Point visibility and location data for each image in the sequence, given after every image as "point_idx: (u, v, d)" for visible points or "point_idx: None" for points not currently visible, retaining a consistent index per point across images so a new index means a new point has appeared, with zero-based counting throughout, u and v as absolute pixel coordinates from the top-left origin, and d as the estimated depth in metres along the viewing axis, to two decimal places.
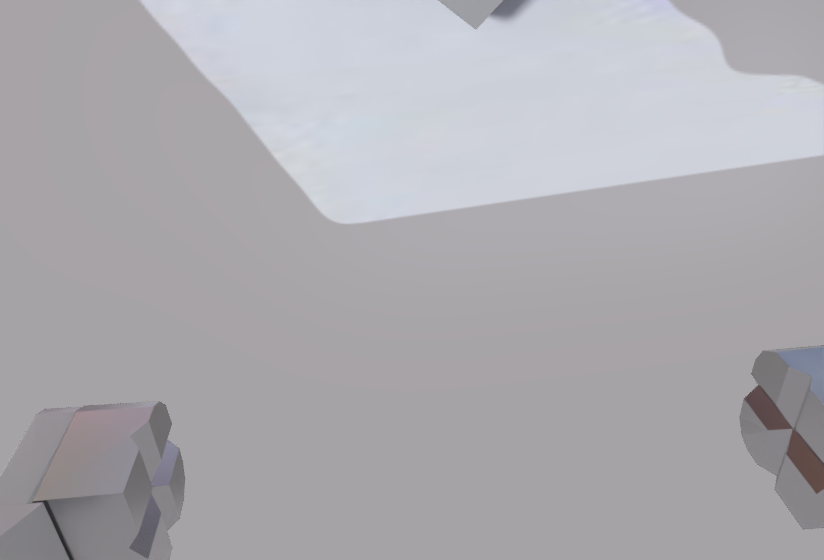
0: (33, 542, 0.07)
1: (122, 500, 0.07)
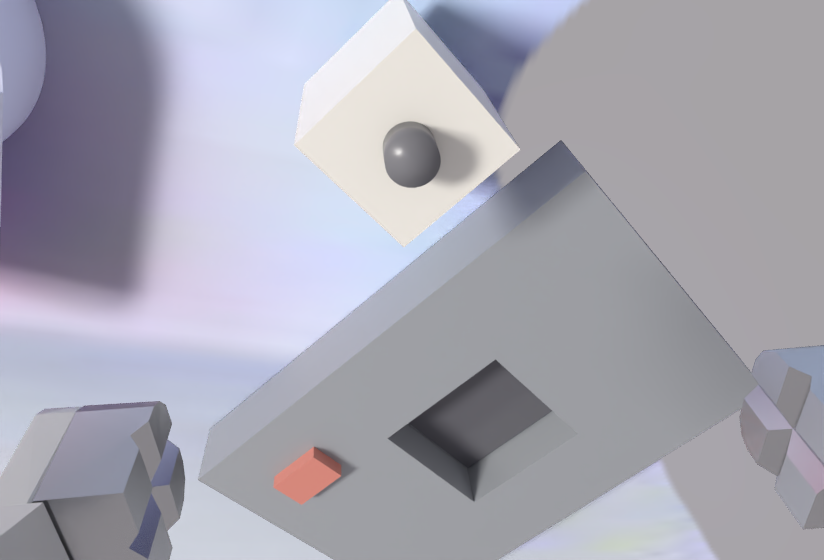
0: (33, 542, 0.07)
1: (122, 500, 0.07)
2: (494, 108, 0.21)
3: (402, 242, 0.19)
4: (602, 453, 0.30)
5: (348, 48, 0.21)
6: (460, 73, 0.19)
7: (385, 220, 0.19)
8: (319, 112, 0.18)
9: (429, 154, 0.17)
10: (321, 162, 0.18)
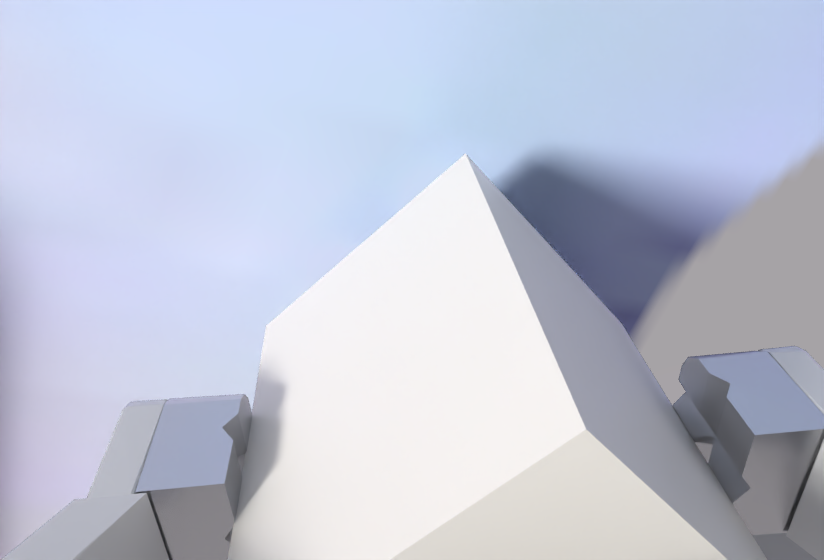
0: (137, 532, 0.07)
1: (222, 491, 0.07)
2: (673, 410, 0.10)
3: None
4: None
5: (357, 284, 0.09)
6: (641, 410, 0.07)
7: None
8: None
9: None
10: None
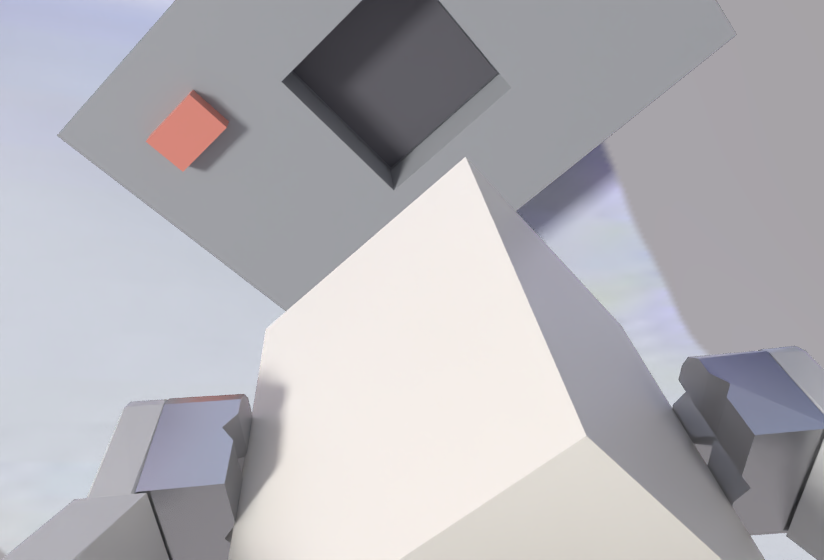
0: (137, 532, 0.07)
1: (222, 491, 0.07)
2: (674, 413, 0.10)
3: None
4: (542, 121, 0.25)
5: (357, 288, 0.09)
6: (641, 414, 0.07)
7: None
8: None
9: None
10: None
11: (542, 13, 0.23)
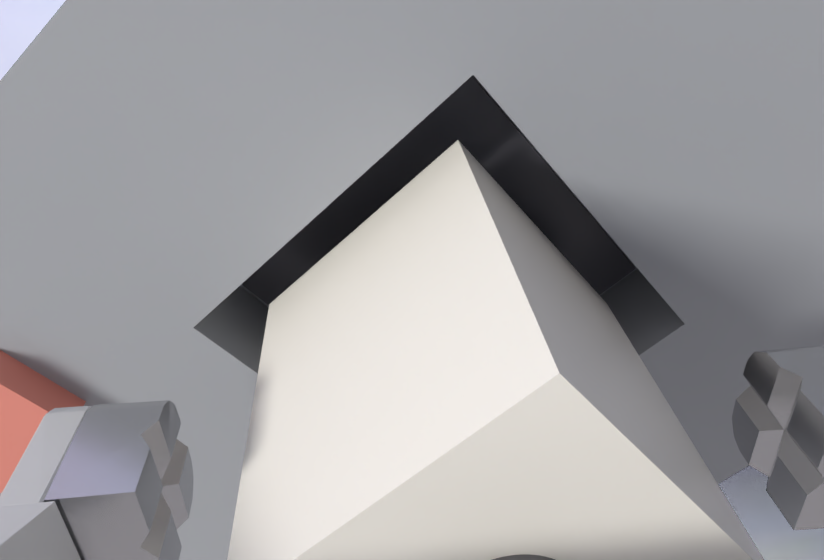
0: (45, 541, 0.07)
1: (134, 499, 0.07)
2: (653, 381, 0.10)
3: None
4: (737, 378, 0.12)
5: (355, 262, 0.10)
6: (618, 373, 0.08)
7: None
8: (286, 508, 0.07)
9: None
10: None
11: (774, 185, 0.10)
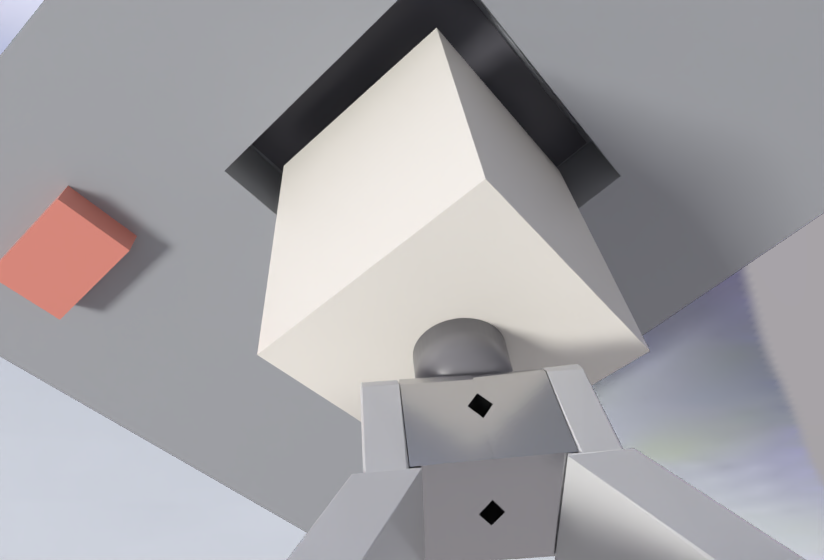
0: (413, 506, 0.07)
1: (488, 466, 0.08)
2: (586, 225, 0.13)
3: None
4: (666, 227, 0.15)
5: (353, 127, 0.13)
6: (546, 204, 0.11)
7: None
8: (302, 289, 0.10)
9: None
10: (306, 375, 0.10)
11: (686, 52, 0.13)
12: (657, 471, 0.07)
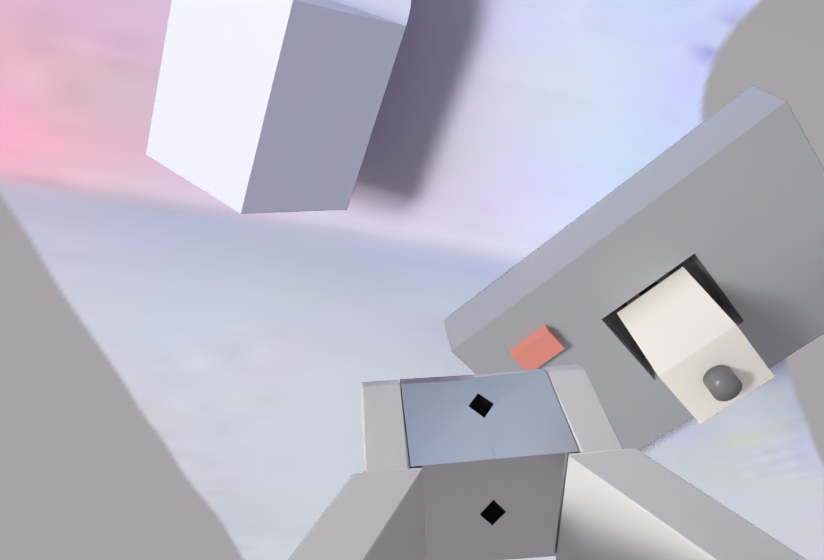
0: (414, 506, 0.07)
1: (489, 466, 0.08)
2: None
3: (700, 421, 0.34)
4: (760, 339, 0.38)
5: (656, 301, 0.36)
6: None
7: (694, 410, 0.34)
8: (668, 356, 0.33)
9: (736, 386, 0.32)
10: (669, 383, 0.33)
11: (772, 280, 0.36)
12: (658, 471, 0.07)
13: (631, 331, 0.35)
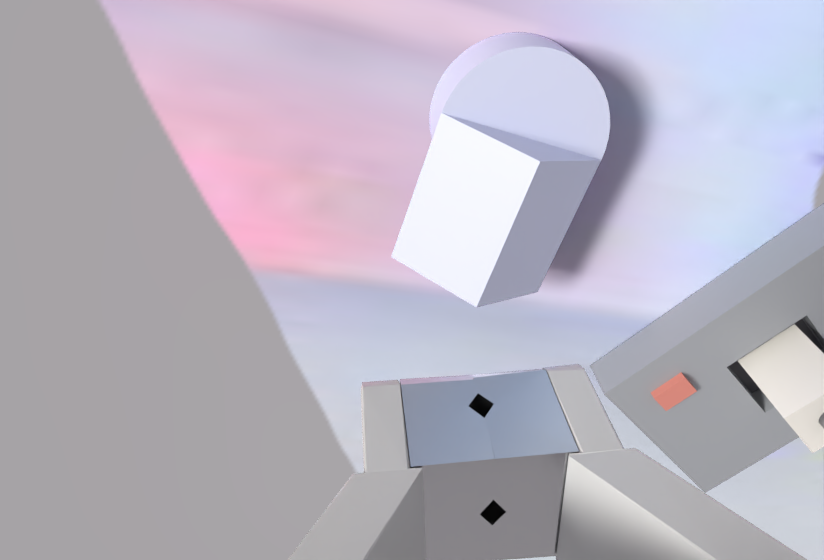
0: (414, 506, 0.07)
1: (489, 466, 0.08)
2: None
3: (813, 451, 0.42)
4: None
5: (773, 353, 0.44)
6: None
7: (809, 443, 0.42)
8: (791, 402, 0.41)
9: None
10: (791, 423, 0.41)
11: None
12: (658, 471, 0.07)
13: (753, 378, 0.44)
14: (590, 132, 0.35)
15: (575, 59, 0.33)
